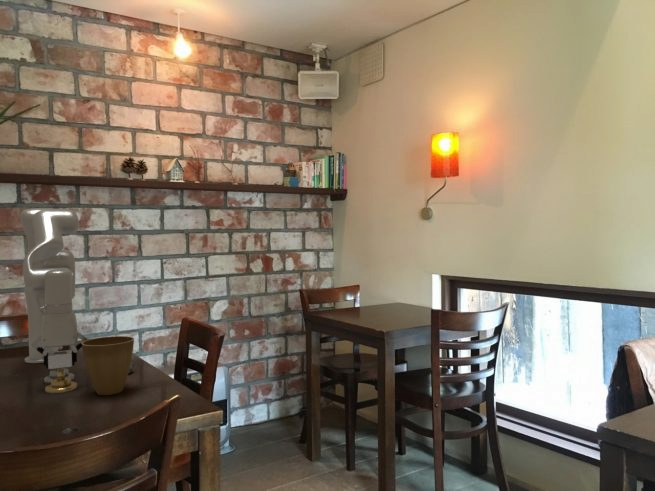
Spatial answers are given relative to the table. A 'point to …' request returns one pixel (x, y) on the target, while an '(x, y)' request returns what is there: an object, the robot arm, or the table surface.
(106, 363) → the plant pot
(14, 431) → the table surface
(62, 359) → the square sleeve
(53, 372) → the stand
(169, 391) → the table surface
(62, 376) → the hub
